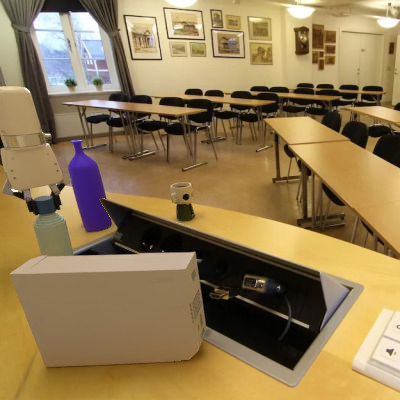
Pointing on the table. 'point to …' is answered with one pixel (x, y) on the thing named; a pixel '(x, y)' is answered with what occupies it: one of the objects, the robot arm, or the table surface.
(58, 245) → the water bottle
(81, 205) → the bottle
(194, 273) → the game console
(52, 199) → the cap
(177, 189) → the character mug
